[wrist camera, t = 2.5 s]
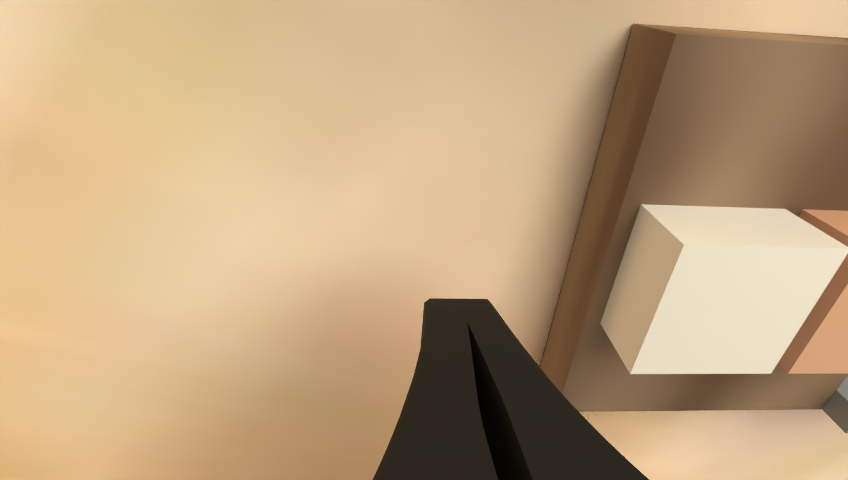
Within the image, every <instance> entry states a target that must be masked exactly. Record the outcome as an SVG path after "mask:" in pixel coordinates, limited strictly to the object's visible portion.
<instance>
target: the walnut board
mask: <svg viewBox="0 0 848 480" xmlns="http://www.w3.org/2000/svg"><path fill="white" fill-rule="evenodd" d="M641 204H645V205H678V206H710V207H742V208H774V209H786V210H788V211H790V212H791V213H793V214H794V215H796V216H798V217H799V215H800V213H801V211H802V210H803V209H806V210H838V211H848V38H837V37H822V36H807V35H792V34H777V33H762V32H748V31H733V30H718V29H703V28H688V27H673V26H658V25H643V24H633V26H632V30H631V34H630V37H629V41H628V45H627V48H626V52H625V56H624V60H623V63H622V67H621V71H620V74H619V78H618V82H617V85H616V89H615V93H614V96H613V100H612V104H611V108H610V111H609V115H608V119H607V122H606V126H605V130H604V133H603V137H602V141H601V144H600V148H599V152H598V155H597V159H596V163H595V167H594V170H593V174H592V178H591V181H590V185H589V189H588V192H587V196H586V200H585V203H584V207H583V211H582V215H581V218H580V222H579V226H578V229H577V233H576V237H575V240H574V244H573V248H572V251H571V255H570V259H569V263H568V266H567V270H566V274H565V277H564V281H563V285H562V288H561V292H560V296H559V299H558V303H557V307H556V311H555V314H554V318H553V322H552V325H551V329H550V333H549V336H548V340H547V344H546V347H545V351H544V355H543V358H542V362H541V366H540V368H541V369H542V371H543V372H544V373H545V374H546V375H547V377H548V378H549V379H550V380H551V381H552V383H553V384H554V385H555V386H556V387H557V388H558V389H559V391H560V392H561V393H562V394H563V395H564V396H565V397H566V398H567V399H568V401H569V402H570V403H571V404H572V405H573V406H574V407H575V408H576V409H577V410H578V411H579V412H585V411H685V410H784V409H823V407H824V406H825V405H826V403H827V402H828V401H829V399H830V398H831V397H832V396H833V394H834V393H835V392H836V390H837V389H838V388H839V386H840V385H841V384H842V382H843V381H844V380H845V378H846V377H847V376H848V373H835V374H788V373H787V372H786V371H785V370H784V369H783V368H782V367H781V366H780V365H779V364H777V365H776V367H775V368H774V370H773V371H772V373H771V374H630V373H629V371H628V369H627V368H626V366H625V364H624V363H623V361H622V359H621V358H620V356H619V354H618V352H617V351H616V349H615V347H614V346H613V344H612V342H611V341H610V339H609V337H608V336H607V334H606V332H605V331H604V329H603V327H602V325H601V324H600V323H601V320H602V317H603V314H604V311H605V308H606V305H607V302H608V299H609V296H610V294H611V291H612V288H613V285H614V282H615V279H616V276H617V273H618V270H619V267H620V264H621V261H622V258H623V255H624V253H625V250H626V247H627V244H628V241H629V238H630V235H631V232H632V229H633V226H634V223H635V220H636V217H637V214H638V212H639V209H640V206H641Z"/></svg>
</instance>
